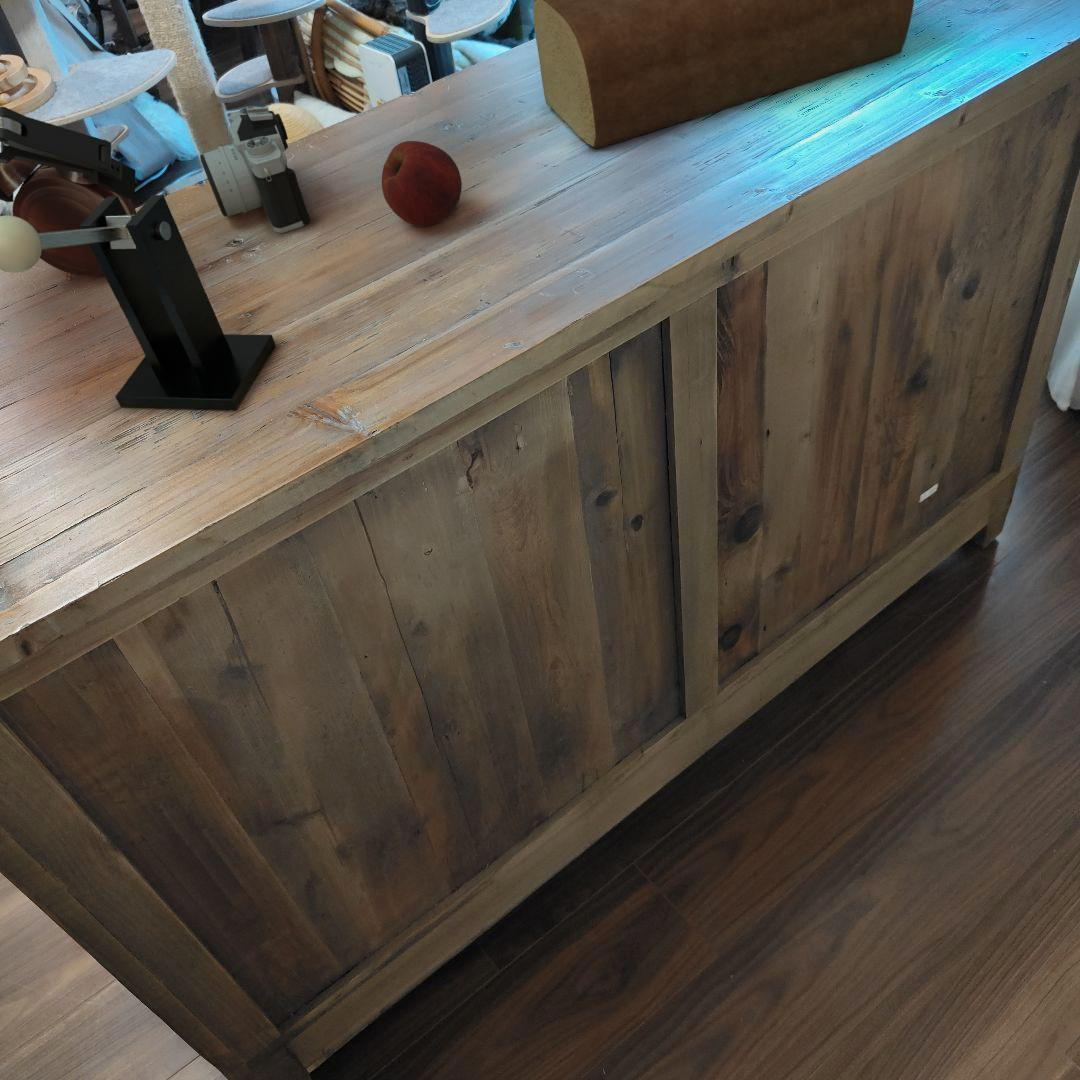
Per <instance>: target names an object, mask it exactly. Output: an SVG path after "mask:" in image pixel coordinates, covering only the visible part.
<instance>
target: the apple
mask: <svg viewBox="0 0 1080 1080" xmlns="http://www.w3.org/2000/svg"><path fill="white" fill-rule="evenodd" d="M462 187H463V183H462V177H461V173H460V170H459V167H458V166H457V163H456V162H455V161H454V159H453V158H452V157H451V156H450V155H449V154H448V153H447V152H446V151H444V150H443V149H441V148H440V147H438V146H436V145H434V144H431V143H428V142H424V141H419V140H406V141H402V142H399V143H397V144H396V145H395V146H394V147H393V148H392V149H391V151H390V152H389V154H388V156H387V159H386V160H385V162H384V164H383V168H382V172H381V191H382V195H383V197H384V200H385V202H386V204H387V205H388V207H389V208H390V210H392V212H393V213H394V214H395V215H396V216H397V217H399V218H400V220H402V221H404V222H405V223H407V224H410V225H412V226H415V227H429V226H433V225H436V224H438V223H440V222H442V221H443V220H445V219H446V218H447V217H449V216H450V214H452V213H453V211H454V210H455V209H456V207H457V205H458V204H459V201H460V198H461V195H462V189H463V188H462Z"/></svg>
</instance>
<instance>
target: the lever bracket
mask: <svg viewBox="0 0 1080 1080" xmlns="http://www.w3.org/2000/svg"><path fill="white" fill-rule="evenodd" d="M116 215H126V213H125V210H124V208H123V206H122V204H121V202H120V200H119V198H118V196H107V197H106V198H105V199H104V200H103V201H102V202H101V203H100V205H99V206H98V207H97V208H96V209H95V210H94V211H93V212H92V213H91V214H90V215H89V216H88V217H87V218H86V219H85V220H84V221H83V222H82V224H81V225H80V226H79V227H80V229H87V228H97V227H107V223H106V216H116ZM126 227H127V229H128V231H129V233H130V235H131V237H132V240H133V242H134V244H135V246H136V248H137V249H111V246H110V241H109V242H101V243H92V244H89V246H90V248H91V250H92V252H93V254H94V256H95V258H96V260H97V262H98V264H99V266H100V268H101V270H102V272H103V273H104V274H103V275H104V277H105V280H106V281H107V283H108V285H109V287H110V289H111V291H112V293H113V295H114V297H115V299H116V301H117V303H118V305H119V306H120V309H121V310H122V312H123V315H124V316H125V318H126V321H127V322H128V324H129V326H130V329H131V330H132V332H133V334H134V336H135V338H136V340H137V342H138V344H139V346H140V347H141V348H140V349H141V350H142V352H143V354H144V357H143V358H142V360H141V361H140V362H139V364H138V365H137V366H136V368H135V369H134V370H133V372H132V373H131V374H130V376H129V377H128V379H127V380H126V381H125V382H124V384H123V385H122V386H121V388H120V389H119V390H118V392H117V393H116V395H115V396H114V398H115V399H116V401H117V403H118V405H119V407H120V408H131V409H132V408H133V409H165V410H198V411H226V412H227V411H232V412H233V411H234V412H235V411H237V410H238V408H239V407H240V405H241V404H242V402H243V401H244V399H245V397H246V395H247V394H248V392H249V390H250V389H251V387H252V386H253V384H254V383H255V381H256V379H257V378H258V376H259V375H260V372H261V371H262V369H263V368H264V367H265V365H266V363H267V361H268V360H269V358H270V356H271V355H272V353H273V351H274V350H275V349H276V347H277V345H276V342H275V339H274V337H273V335H272V334H232V333H231V334H226V333H224V331H223V328H222V326H221V324H220V321H219V320H218V317H217V314H216V312H215V311H214V307H213V306H212V304H211V301H210V299H209V296H208V294H207V292H206V290H205V287H204V285H203V283H202V281H201V278H200V276H199V273H198V271H197V269H196V267H195V265H194V262H193V260H192V257H191V256H190V253H189V251H188V248H187V246H186V244H185V242H184V239H183V237H182V235H181V232H180V230H179V228H178V225H177V223H176V221H175V218H174V216H173V213H172V212H171V209H170V207H169V204H168V202H167V200H166V198H165V196H164V194H153V195H152V194H151V196H149V198H148V199H147V200H146V202H145V203H144V204H143V205H142V206H141V207H140V208H139V210H138V211H136V214H135V215H134V216H133V217H132V219H131V220H130V221H129V222H128V223H127V224H126Z"/></svg>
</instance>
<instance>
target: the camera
mask: <svg viewBox="0 0 1080 1080" xmlns="http://www.w3.org/2000/svg"><path fill="white" fill-rule="evenodd" d="M228 121H229V126H228V128H227V131H228V135H229V137H230V139H231V141H232V143H229V144H227V145H223V146H222V145H220V146H219V145H218V146H217V149H214V150H211V151H207V152H204V153H202V154H200V155H199V158H200V162H201V165H202V168H203V170H204V173H205V175H206V178H207V180H208V183H209V185H210V188H211V190H212V193H213V195H214V198H215V201H216V203H217V205H218V207H219V210H220V213H221V214H222V216H223V217H225V218H227V217H230V216H233V215H237V214H240V213H243V214H247V213H248V212H249V211H252V210H255V209H259V208H262V209H263V211H264V214H265V215H266V218H267V219H268V221H269V224H270V226H271V227H272V229H273V231H274V232H275V233H278V234H284V233H287V232H291V231H293V230H296V229H300V228H302V227H305V226H306V225H307V226H308V225H309V224H310V221H311V218H310V213H309V212H308V210H307V209H308V208H307V206H306V203H305V200H304V197H303V194H302V192H301V188H300V185H299V182H298V178H297V174H296V172H295V170H294V169H292V168H290V167H288V165H287V164H288V161H287V160H288V159H287V156H286V154H285V152H286V150H287V149H289V145H288V141H287V140H289V137H288V134H287V130H286V127H285V124H284V121H283V119H282V117H281V114H280V113H275V112H274V111H273V110H269V107H268V106H262V107H261V106H260V107H255V106H245V107H243V108H241V109H239V110H237V111H235V112H232V113H230V114H229V116H228Z"/></svg>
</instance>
